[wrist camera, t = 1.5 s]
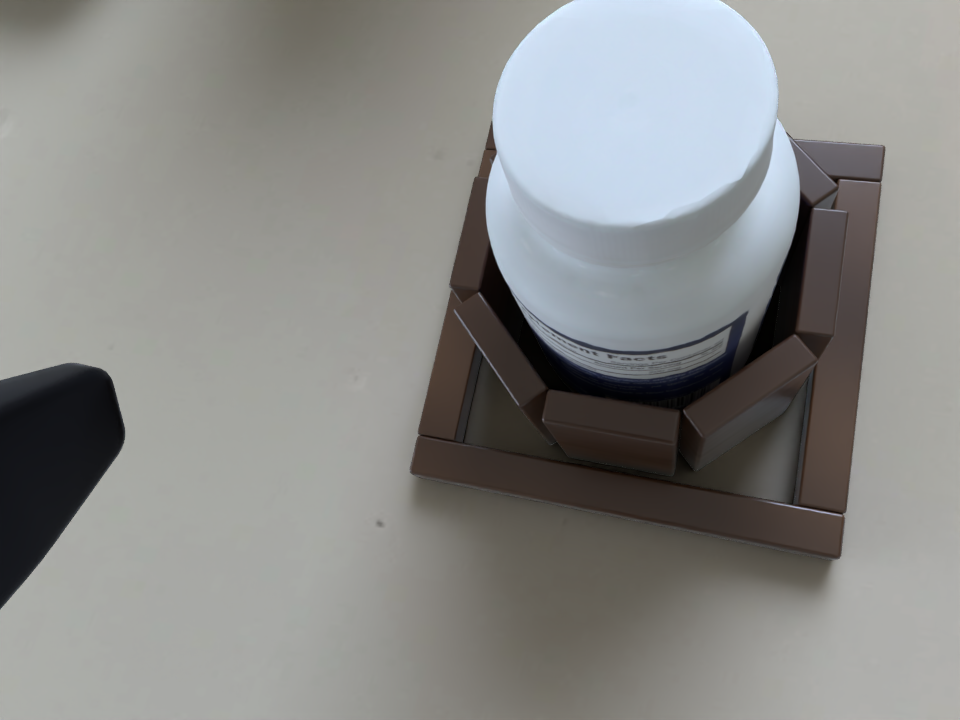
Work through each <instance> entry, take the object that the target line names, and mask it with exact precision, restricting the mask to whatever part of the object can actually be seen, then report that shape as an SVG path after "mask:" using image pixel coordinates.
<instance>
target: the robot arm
mask: <svg viewBox="0 0 960 720" xmlns="http://www.w3.org/2000/svg"><path fill="white" fill-rule="evenodd" d="M124 440H125V427H124V423H123V419H122V415H121V411H120V407H119V404H118V400H117V396H116V392H115V388H114V385H113V381H112V379H111V377H110V376H109V375H108V373H107V372H106V371H104V370H102V369H100V368H96V367H92V366H88V365H83V364H79V363H66V364H61V365H58V366H54V367H50V368H46V369H42V370H38V371H35V372H31V373H27V374H23V375H19V376H15V377H12V378H8V379H4V380H0V609H1V608H2V607H3V606H4V604H5V603H6V602H7V601H8V600H9V599H10V598H11V596H12V595H13V594H14V593H15V592H16V591H17V589H18V588H19V587H20V586H21V585H22V584H23V582H24V581H25V580H26V579H27V578H28V577H29V575H30V574H31V573H32V572H33V570H34V569H35V568H36V567H37V566H38V564H39V563H40V562H41V561H42V559H43V558H44V557H45V555H46V554H47V553H48V551H49V550H50V549H51V547H52V546H53V545H54V543H55V542H56V541H57V539H58V538H59V536H60V535H61V534H62V532H63V531H64V529H65V528H66V527H67V525H68V524H69V523H70V521H71V520H72V518H73V517H74V516H75V514H76V513H77V511H78V510H79V509H80V507H81V506H82V504H83V503H84V502H85V500H86V499H87V497H88V496H89V495H90V493H91V492H92V490H93V489H94V488H95V486H96V485H97V483H98V482H99V481H100V479H101V478H102V476H103V475H104V474H105V472H106V471H107V469H108V468H109V467H110V465H111V464H112V462H113V461H114V460H115V458H116V457H117V455H118V454H119V452H120V451H121V449H122V446H123V444H124Z"/></svg>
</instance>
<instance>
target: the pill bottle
mask: <svg viewBox="0 0 960 720" xmlns="http://www.w3.org/2000/svg"><path fill="white" fill-rule="evenodd" d="M777 112H778V79H777V75H776V71H775V67H774V64H773V61H772V59H771V56H770V54H769V51H768V49H767V47H766V45H765V44H764V42H763V40H762V39H761V37H760V35H759V34H758V33H757V32H756V30H755V29H754V28H753V27H752V26H751V25H750V24H749V23H748V22H747V21H746V20H745V18H744V17H742V16H741V15H740V14H738V13H737V12H736V11H734V10H733V9H732V8H731V7H729V6H728V5H726V4H724V3H723V2H721V1H720V0H574V1H572V2H570V3H568V4H566V5H564V6H563V7H561V8H559V9H558V10H556V11H555V12H553V13H552V14H551V15H549V16H548V17H547V18H546V19H545V20H543V21H542V22H540V23H539V24H538V25H537V26H536V27H535V28H534V29H533V30H532V31H531V32H530V33H529V34H528V35H527V36H526V37H525V38H524V39H523V41H522V42H521V43H520V44H519V46H518V47H517V48H516V49H515V51H514V52H513V54H512V56H511V57H510V59H509V60H508V62H507V64H506V66H505V68H504V70H503V73H502V75H501V78H500V80H499V83H498V86H497V90H496V93H495V98H494V106H493V117H492V124H493V135H494V141H495V146H496V150H497V155H496V157H495V160H494V162H493V165H492V168H491V172H490V176H489V180H488V185H487V193H486V221H487V229H488V234H489V239H490V243H491V247H492V250H493V254H494V257H495V259H496V262H497V264H498V267H499V270H500V272H501V274H502V276H503V278H504V280H505V282H506V283H507V285H508V286H509V288H510V290H511V293H512V294H513V296H514V297H515V300H516V302H517V303H518V305H519V307H520V309H521V311H522V313H523V314H524V316H525V318H526V320H527V322H528V324H529V326H530V328H531V330H532V332H533V333H534V335H535V337H536V339H537V341H538V343H539V345H540V347H541V349H542V351H543V353H544V355H545V356H546V358H547V360H548V362H549V363H550V365H551V366H552V368H553V369H554V371H555V372H556V374H557V375H558V376H559V377H560V379H561V380H562V381H563V383H564V384H565V385H566V386H567V387H568V388H569V389H570V390H571V391H572V392H573V393H579V394H586V395H592V396H598V397H604V398H610V399H616V400H623V401H629V402H635V403H641V404H647V405H653V406H659V407H666V408H672V409H677V410H679V411H680V412H681V415H682V411H683V409H684V408H685V407H686V406H688V405H689V404H691V403H692V402H694V401H695V400H697V399H698V398H699V397H701V396H702V395H704V394H705V393H707V392H708V391H710V390H711V389H713V388H714V387H716V386H717V385H719V384H720V383H721V382H723V381H724V380H726V379H727V378H729V377H730V376H732V375H733V374H735V373H736V372H738V371H739V370H741V369H742V368H743V367H744V365H745V363H746V361H747V359H748V357H749V356H750V354H751V352H752V350H753V347H754V344H755V342H756V340H757V338H758V335H759V332H760V329H761V326H762V323H763V321H764V318H765V315H766V312H767V309H768V307H769V304H770V301H771V298H772V295H773V292H774V289H775V287H776V284H777V281H778V279H779V276H780V273H781V270H782V268H783V265H784V263H785V261H786V258H787V255H788V252H789V250H790V247H791V244H792V240H793V237H794V233H795V230H796V223H797V218H798V212H799V203H800V182H799V174H798V168H797V163H796V159H795V155H794V151H793V148H792V146H791V143H790V140H789V138H788V136H787V134H786V132H785V130H784V128H783V126H782V124H781V123H780V121H779V120H778V118H777Z"/></svg>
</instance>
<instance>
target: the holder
mask: <svg viewBox="0 0 960 720" xmlns="http://www.w3.org/2000/svg"><path fill="white" fill-rule="evenodd" d="M785 132H786V131H785ZM786 134H787V136H788V138H789V140H790V143H791V146H792V148H793V151H794V155H795V159H796V163H797V168H798V174H799V182H800V203H799V212H798V218H797V223H796V230H795V233H794V237H793V240H792V244H791V247H790V250H789V252H788V255H787V258H786V261H785V263H784V265H783V268H782V270H781V273H780V276H779V279H778V281H777V284H778V285H779V286H780V287H781V289H780V295H779V302H778V310H777V317H776V325H775V332H774V339H773V347H772V348H771V349H770V350H769V351H767V352H766V353H764V354H763V355H761V356H760V357H758V358H757V359H755V360H754V361H752V362H751V363H749V364H748V365H746V366H745V367H744V368H742V369H741V370H739V371H738V372H736V373H735V374H733V375H732V376H730V377H729V378H727V379H726V380H724V381H723V382H721V383H720V384H719V385H717V386H716V387H714V388H713V389H711V390H710V391H708V392H707V393H705V394H704V395H702V396H701V397H699V398H698V399H697V400H695V401H694V402H692V403H691V404H689V405H688V406H686V407H685V408H684V409H683V411H682V420H681V412H680V411H679V410H677V409H672V408H666V407H659V406H653V405H647V404H641V403H635V402H629V401H623V400H616V399H610V398H604V397H598V396H592V395H586V394H579V393H573V392H567V391H561V390H555V389H550V390H549V389H548V387H547V386H546V384H545V383H544V381H543V380H542V378H541V377H540V376H539V374H538V373H537V371H536V370H535V368H534V367H533V366H532V364H531V363H530V361H529V360H528V358H527V357H526V356H525V354H524V353H523V351H522V350H521V348H520V347H519V346H518V343H519V338H520V334H521V329H522V324H523V320H524V314H523V313H522V311H521V309H520V307H519V305H518V303H517V302H516V300H515V297H514V296H513V294H512V293H511V290H510V288H509V286H508V285H507V283H506V282H505V280H504V278H503V276H502V274H501V272H500V270H499V267H498V264H497V262H496V259H495V257H494V254H493V250H492V247H491V243H490V239H489V234H488V229H487V221H486V193H487V185H488V180H489V176H490V172H491V168H492V165H493V162H494V160H495V157H496V155H497V150H496V146H495V141H494V135H493V124H492V121H491V126H490V130H489V134H488V138H487V143H486V147H485V149H486V150H484V154H483V158H482V162H481V167H480V171H479V175H478V177H475V179H474V182H473V187H472V191H471V195H470V199H469V203H468V208H467V212H466V216H465V220H464V224H463V229H462V233H461V237H460V241H459V246H458V250H457V254H456V258H455V262H454V267H453V271H452V275H451V279H450V284H449V286H450V288H451V294H450V298H449V302H448V306H447V311H446V315H445V319H444V323H443V328H442V332H441V336H440V340H439V345H438V349H437V353H436V357H435V362H434V366H433V370H432V374H431V378H430V383H429V387H428V391H427V395H426V400H425V404H424V408H423V412H422V417H421V421H420V425H419V429H418V434H419V435H420V436H418V437H417V440H416V445H415V449H414V453H413V457H412V462H411V466H410V473H411V474H413V475H415V476H417V477H419V478H424V479H429V480H434V481H439V482H444V483H449V484H454V485H459V486H464V487H469V488H474V489H479V490H484V491H489V492H494V493H498V494H503V495H508V496H513V497H518V498H523V499H528V500H533V501H538V502H543V503H548V504H553V505H558V506H563V507H568V508H573V509H578V510H583V511H588V512H593V513H598V514H602V515H607V516H612V517H617V518H622V519H627V520H632V521H637V522H642V523H647V524H652V525H657V526H662V527H667V528H672V529H677V530H682V531H687V532H692V533H697V534H701V535H706V536H711V537H716V538H721V539H726V540H731V541H736V542H741V543H746V544H751V545H756V546H761V547H766V548H771V549H776V550H781V551H786V552H791V553H796V554H800V555H805V556H810V557H815V558H820V559H825V560H836V559H840V557H841V552H842V543H843V534H844V524H845V517H844V515H843V514H844V513H845V512H846V509H847V499H848V490H849V481H850V472H851V463H852V453H853V444H854V435H855V426H856V416H857V407H858V398H859V389H860V380H861V370H862V361H863V352H864V343H865V333H866V324H867V315H868V306H869V297H870V287H871V278H872V269H873V260H874V250H875V241H876V232H877V223H878V214H879V204H880V195H881V186H882V185H881V181H882V176H883V167H884V157H885V146H883V145H871V144H857V143H843V142H829V141H815V140H800V139H793V138H792V137H791V136H790V135H789V134H788V133H787V132H786ZM482 354H483V356H484V357H485V359H486V360H487V362H488V363H489V364H490V366H491V367H492V369H493V370H494V372H495V373H496V375H497V376H498V378H499V379H500V381H501V382H502V384H503V385H504V387H505V388H506V390H507V391H508V393H509V394H510V396H511V397H512V398H513V400H514V401H515V403H516V404H517V406H518V407H519V408H520V410H521V411H522V412H523V413H524V415H525V416H526V417H527V418H528V419H529V421H530V422H531V423H532V424H533V426H534V427H535V428H536V429H537V431H538V432H539V433H540V434H541V436H542V437H543V438H544V439H545V441H546V442H547V443H548V444H549V445H552V444H554V443H555V442H558V443H559V445H560V446H561V448H562V449H563V450H564V452H565V453H566V454H567V456H568V457H570V458H574V459H579V460H585V461H590V462H595V463H601V464H606V465H612V466H617V467H622V468H628V469H633V470H639V471H644V472H650V473H655V474H660V475H666V476H673V475H674V473H675V467H676V461H677V455H678V446H679V451H680V453H681V454H682V456H683V457H684V458H685V460H686V461H687V462H688V464H689V465H690V466H691V468H692V469H693V470H694V471H699V470H700V469H702V468H703V467H705V466H706V465H707V464H709V463H710V462H712V461H713V460H715V459H716V458H718V457H719V456H721V455H722V454H724V453H725V452H727V451H728V450H730V449H731V448H733V447H734V446H736V445H737V444H738V443H740V442H741V441H743V440H744V439H746V438H747V437H749V436H750V435H752V434H753V433H755V432H756V431H758V430H759V429H761V428H762V427H764V426H765V425H766V424H768V423H769V422H771V421H772V420H774V419H775V418H777V417H778V416H780V415H781V414H783V413H784V412H785V410H786V409H787V407H788V406H789V404H790V403H791V401H792V400H793V398H794V397H795V395H796V394H797V392H798V391H799V389H800V388H801V386H802V385H803V383H804V382H805V380H806V379H807V377H808V376H809V380H808V389H807V397H806V405H805V413H804V421H803V429H802V437H801V445H800V453H799V461H798V469H797V477H796V485H795V494H794V502H793V504H788V503H783V502H777V501H772V500H767V499H761V498H756V497H750V496H745V495H740V494H734V493H729V492H724V491H718V490H713V489H708V488H702V487H697V486H692V485H686V484H681V483H675V482H670V481H665V480H659V479H654V478H649V477H643V476H638V475H633V474H627V473H622V472H616V471H611V470H606V469H600V468H595V467H590V466H584V465H579V464H574V463H568V462H563V461H558V460H552V459H547V458H541V457H536V456H531V455H525V454H520V453H515V452H509V451H504V450H499V449H493V448H488V447H483V446H477V445H472V444H466V443H463V438H464V434H465V429H466V425H467V420H468V416H469V411H470V407H471V402H472V398H473V393H474V389H475V384H476V380H477V375H478V371H479V366H480V362H481V357H482ZM680 423H681V431H680ZM679 434H680V442H679Z"/></svg>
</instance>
